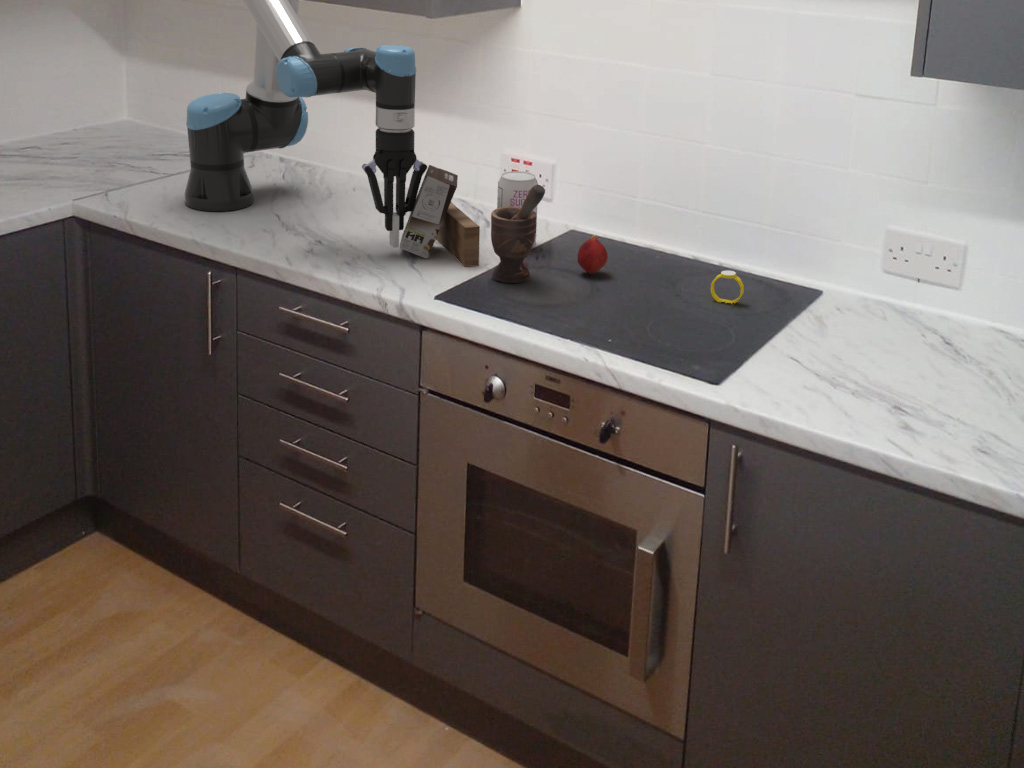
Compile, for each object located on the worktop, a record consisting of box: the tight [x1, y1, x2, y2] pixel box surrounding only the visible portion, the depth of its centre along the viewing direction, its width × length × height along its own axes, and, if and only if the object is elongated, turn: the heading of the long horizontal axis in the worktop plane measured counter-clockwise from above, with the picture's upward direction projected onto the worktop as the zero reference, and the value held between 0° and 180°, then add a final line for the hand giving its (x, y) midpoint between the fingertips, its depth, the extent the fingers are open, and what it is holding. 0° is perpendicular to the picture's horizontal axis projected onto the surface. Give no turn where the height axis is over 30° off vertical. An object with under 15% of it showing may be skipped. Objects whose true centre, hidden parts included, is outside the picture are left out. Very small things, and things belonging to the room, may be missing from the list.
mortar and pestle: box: [490, 184, 546, 284], centre depth 232 cm, size 12×9×20 cm
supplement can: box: [496, 170, 539, 249], centre depth 251 cm, size 8×8×15 cm
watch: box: [710, 270, 745, 305], centre depth 228 cm, size 6×3×6 cm, turn 69°
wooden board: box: [435, 201, 481, 267], centre depth 250 cm, size 24×3×8 cm, turn 22°
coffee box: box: [398, 164, 459, 259], centre depth 245 cm, size 9×6×16 cm
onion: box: [577, 234, 608, 275], centre depth 239 cm, size 6×6×8 cm
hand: (394, 245), depth 246 cm, fingers closed
